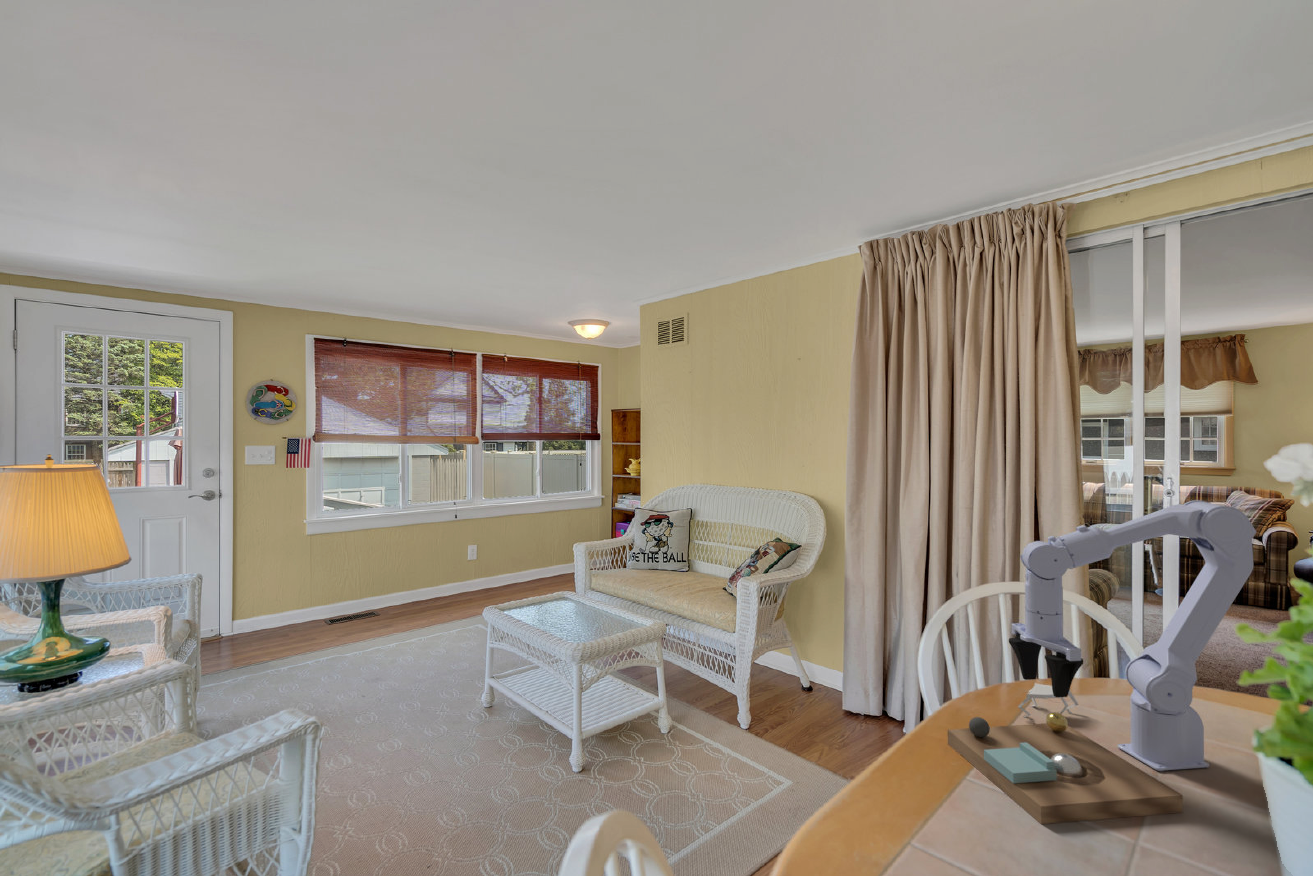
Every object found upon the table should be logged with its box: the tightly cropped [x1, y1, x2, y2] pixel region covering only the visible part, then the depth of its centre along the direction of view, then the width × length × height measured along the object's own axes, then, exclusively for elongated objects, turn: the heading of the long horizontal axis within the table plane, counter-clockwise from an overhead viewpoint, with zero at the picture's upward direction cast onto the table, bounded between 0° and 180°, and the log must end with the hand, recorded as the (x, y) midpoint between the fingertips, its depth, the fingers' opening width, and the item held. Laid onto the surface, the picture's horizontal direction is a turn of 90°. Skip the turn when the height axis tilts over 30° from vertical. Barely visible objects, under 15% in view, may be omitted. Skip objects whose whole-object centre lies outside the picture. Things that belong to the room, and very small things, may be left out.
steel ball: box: [1051, 753, 1082, 778], centre depth 98 cm, size 4×4×4 cm
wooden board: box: [947, 722, 1184, 825], centre depth 100 cm, size 22×23×2 cm
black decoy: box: [968, 716, 991, 737], centre depth 108 cm, size 3×3×3 cm
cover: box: [984, 742, 1057, 783], centre depth 97 cm, size 7×7×2 cm
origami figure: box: [1017, 682, 1079, 718], centre depth 122 cm, size 12×8×5 cm
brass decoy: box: [1045, 711, 1069, 732], centre depth 109 cm, size 3×3×3 cm
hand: (1044, 687), depth 110 cm, fingers open, 7 cm apart
